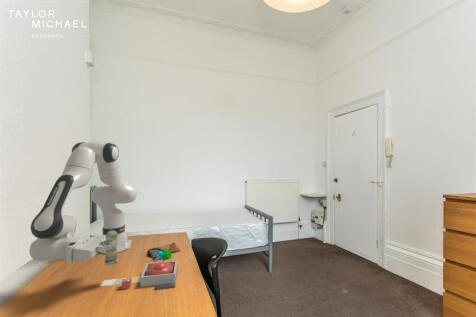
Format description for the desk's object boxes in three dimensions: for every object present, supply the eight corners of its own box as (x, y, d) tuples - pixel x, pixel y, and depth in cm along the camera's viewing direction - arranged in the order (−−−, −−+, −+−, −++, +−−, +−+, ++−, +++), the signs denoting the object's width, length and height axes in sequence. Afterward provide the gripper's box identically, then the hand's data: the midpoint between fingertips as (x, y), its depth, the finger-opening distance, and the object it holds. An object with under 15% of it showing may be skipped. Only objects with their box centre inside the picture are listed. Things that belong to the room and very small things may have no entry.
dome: (149, 271, 104) (149, 258, 104) (173, 269, 106) (173, 256, 106) (144, 283, 93) (144, 269, 93) (171, 281, 95) (172, 266, 96)
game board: (107, 276, 102) (108, 265, 102) (177, 270, 109) (177, 259, 109) (92, 296, 87) (93, 283, 87) (175, 287, 93) (175, 275, 93)
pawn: (107, 261, 97) (107, 229, 98) (119, 260, 98) (119, 228, 99) (102, 265, 93) (103, 232, 93) (115, 264, 94) (115, 231, 94)
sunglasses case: (153, 259, 121) (150, 247, 124) (148, 262, 125) (145, 251, 128) (182, 250, 134) (179, 239, 137) (176, 253, 138) (174, 243, 141)
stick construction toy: (156, 261, 114) (154, 246, 118) (147, 266, 116) (145, 252, 120) (174, 260, 123) (171, 246, 127) (166, 265, 125) (163, 251, 130)
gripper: (89, 246, 103) (121, 244, 106) (64, 265, 83) (104, 261, 86) (89, 232, 103) (121, 230, 106) (64, 248, 83) (105, 245, 86)
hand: (113, 244), depth 96 cm, fingers closed on pawn, 4 cm apart
